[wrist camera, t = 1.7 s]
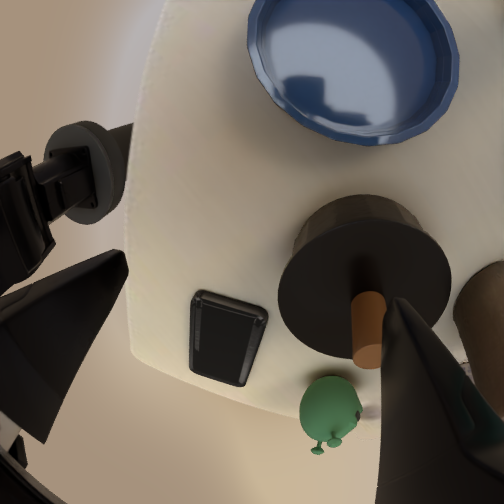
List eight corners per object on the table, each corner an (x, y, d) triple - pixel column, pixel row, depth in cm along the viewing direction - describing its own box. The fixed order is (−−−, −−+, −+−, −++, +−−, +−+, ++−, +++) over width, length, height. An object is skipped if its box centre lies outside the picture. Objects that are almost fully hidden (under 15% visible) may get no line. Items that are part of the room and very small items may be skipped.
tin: (286, 300, 26) (277, 340, 22) (302, 182, 20) (296, 209, 16) (399, 316, 24) (407, 356, 20) (442, 210, 18) (467, 241, 14)
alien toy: (346, 397, 33) (342, 462, 25) (295, 385, 34) (283, 453, 25) (374, 372, 29) (375, 447, 21) (317, 358, 30) (307, 438, 21)
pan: (254, 125, 18) (243, 130, 16) (261, -33, 11) (251, -49, 9) (429, 155, 16) (445, 166, 14) (440, -1, 9) (456, -11, 7)
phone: (268, 318, 26) (243, 389, 34) (270, 310, 27) (245, 382, 35) (189, 294, 27) (188, 371, 35) (194, 287, 28) (191, 364, 36)
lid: (272, 337, 23) (258, 394, 18) (289, 196, 16) (275, 245, 11) (408, 354, 21) (415, 408, 16) (471, 231, 14) (509, 284, 9)
